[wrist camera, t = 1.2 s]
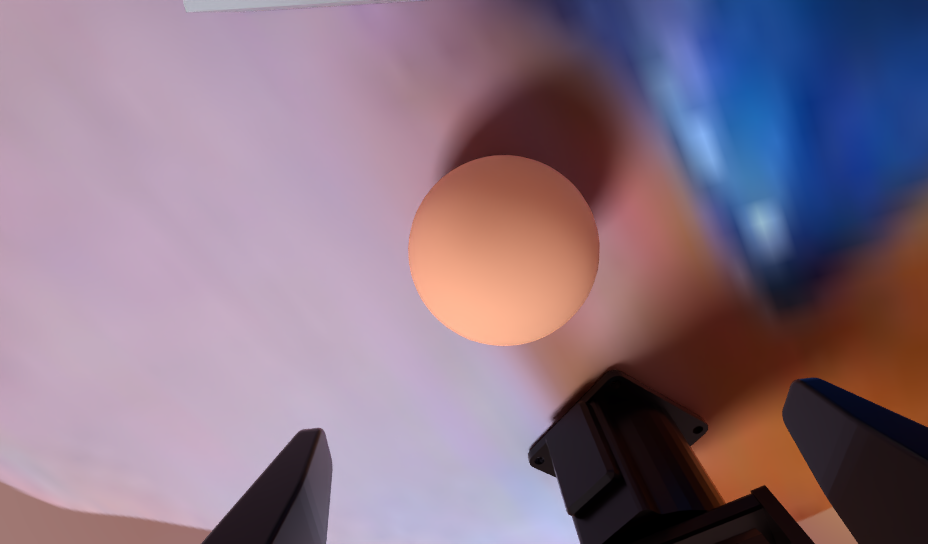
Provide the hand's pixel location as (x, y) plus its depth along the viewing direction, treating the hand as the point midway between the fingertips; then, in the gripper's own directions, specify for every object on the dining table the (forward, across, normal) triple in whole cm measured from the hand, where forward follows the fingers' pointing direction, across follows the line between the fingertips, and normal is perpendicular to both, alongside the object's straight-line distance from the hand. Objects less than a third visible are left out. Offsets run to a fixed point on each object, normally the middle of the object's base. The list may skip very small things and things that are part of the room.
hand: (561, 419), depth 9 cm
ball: (+10, 0, 0) cm, 10 cm away
